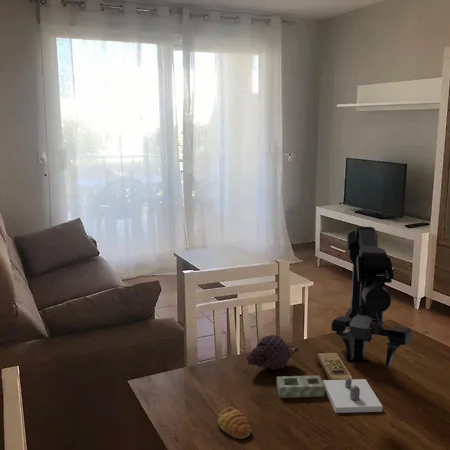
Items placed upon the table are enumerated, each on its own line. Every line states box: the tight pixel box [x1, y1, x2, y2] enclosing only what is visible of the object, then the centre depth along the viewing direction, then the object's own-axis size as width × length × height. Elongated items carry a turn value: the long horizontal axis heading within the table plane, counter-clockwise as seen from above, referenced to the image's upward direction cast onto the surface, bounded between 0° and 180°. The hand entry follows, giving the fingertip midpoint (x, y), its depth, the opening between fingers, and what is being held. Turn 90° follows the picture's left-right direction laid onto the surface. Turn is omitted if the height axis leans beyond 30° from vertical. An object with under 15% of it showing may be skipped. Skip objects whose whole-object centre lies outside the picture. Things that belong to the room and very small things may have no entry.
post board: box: [322, 377, 384, 414], centre depth 138 cm, size 14×12×5 cm
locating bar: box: [276, 374, 326, 399], centre depth 141 cm, size 12×6×3 cm, turn 93°
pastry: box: [216, 406, 253, 440], centre depth 124 cm, size 9×7×4 cm
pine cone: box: [246, 334, 300, 370], centre depth 154 cm, size 18×10×10 cm, turn 120°
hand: (369, 362), depth 130 cm, fingers open, 9 cm apart
